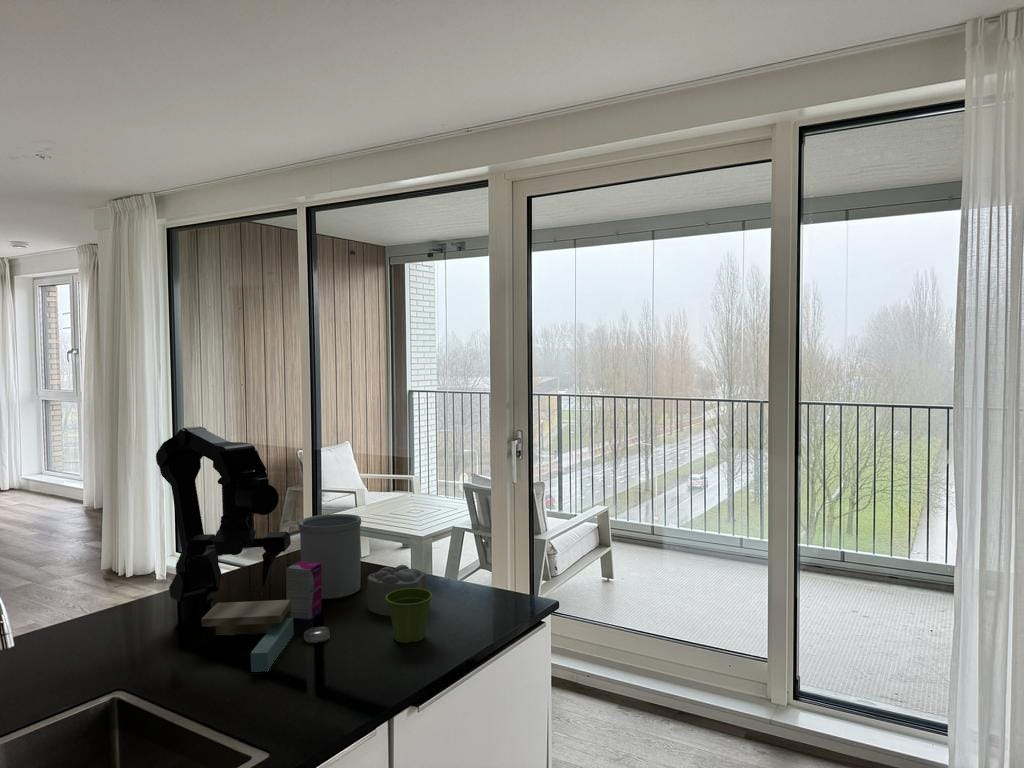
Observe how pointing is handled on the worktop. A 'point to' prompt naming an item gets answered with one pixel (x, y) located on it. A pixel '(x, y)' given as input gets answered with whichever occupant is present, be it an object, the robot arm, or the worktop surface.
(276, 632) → the dark grey-teal rectangular block
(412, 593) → the plant pot
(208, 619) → the oak plinth shelf
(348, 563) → the utensil holder
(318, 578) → the supplement box
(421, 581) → the lumpy-topped squat cylinder
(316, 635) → the steel token
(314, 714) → the worktop surface
